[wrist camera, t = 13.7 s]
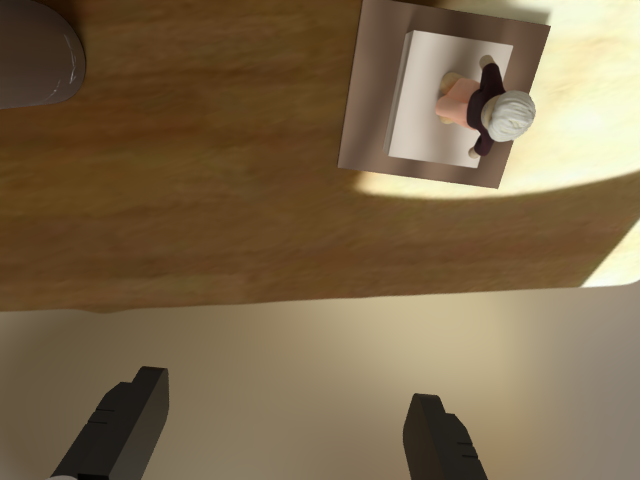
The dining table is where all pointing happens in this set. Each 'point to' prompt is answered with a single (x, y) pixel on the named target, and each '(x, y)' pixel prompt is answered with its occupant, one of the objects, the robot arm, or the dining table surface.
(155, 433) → the robot arm
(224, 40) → the dining table surface
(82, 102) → the dining table surface
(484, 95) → the grandmother figurine
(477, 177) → the plinth
